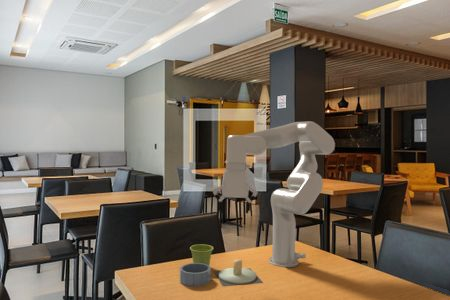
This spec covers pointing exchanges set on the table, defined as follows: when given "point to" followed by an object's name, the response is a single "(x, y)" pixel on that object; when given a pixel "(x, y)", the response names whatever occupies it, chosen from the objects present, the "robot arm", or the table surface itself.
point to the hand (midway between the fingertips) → (234, 212)
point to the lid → (237, 274)
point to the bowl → (195, 274)
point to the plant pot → (201, 253)
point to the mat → (236, 284)
